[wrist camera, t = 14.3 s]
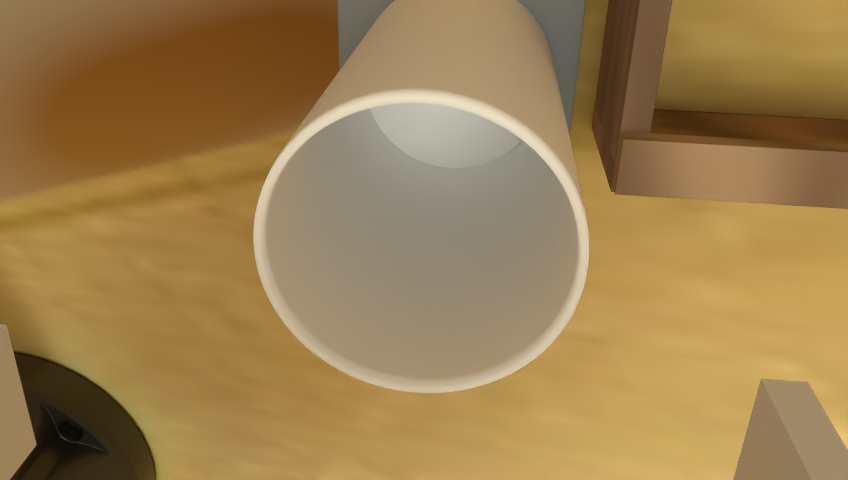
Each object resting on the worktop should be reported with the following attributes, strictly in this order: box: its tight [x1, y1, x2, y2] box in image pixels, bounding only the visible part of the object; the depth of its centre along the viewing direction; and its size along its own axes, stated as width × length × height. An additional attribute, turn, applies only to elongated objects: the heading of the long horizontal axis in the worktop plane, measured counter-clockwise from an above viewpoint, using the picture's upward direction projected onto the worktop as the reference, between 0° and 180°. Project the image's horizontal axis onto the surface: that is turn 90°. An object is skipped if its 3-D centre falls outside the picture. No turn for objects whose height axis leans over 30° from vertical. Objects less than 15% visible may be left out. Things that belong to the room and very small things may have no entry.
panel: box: [338, 0, 585, 135], centre depth 33 cm, size 10×10×1 cm
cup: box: [253, 0, 589, 393], centre depth 26 cm, size 8×8×16 cm
